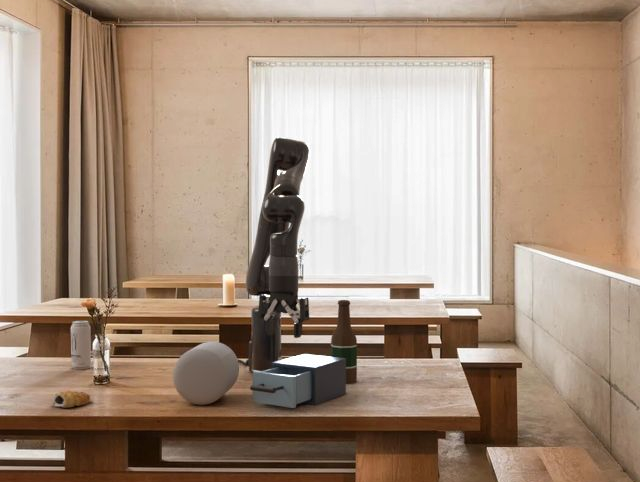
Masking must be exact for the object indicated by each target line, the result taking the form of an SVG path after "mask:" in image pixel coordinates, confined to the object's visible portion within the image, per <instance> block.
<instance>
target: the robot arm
mask: <svg viewBox="0 0 640 482" xmlns="http://www.w3.org/2000/svg"><path fill="white" fill-rule="evenodd" d="M310 153H311V149H310V145H309V144H308V143H307V142H304V141H301V140H297V139H293V138H286V137H282V136H277V137H275V138H274V140H273V141H272V144H271V148H270V153H269V159H268V168H267V176H266V183H265V190H264V195H263V199H262V203H261V207H260V211H259V217H258V221H257V229H256V236H255V241H254V246H253V250H252V252H251V257H250V260H249V264H248V266H247V271H246V276H245V289H246V291H247V293H248V294H249V295H250V296H254V297H257V296H258V305H255V306H254V307H252V309H251V313H250V314H251V315H250V316H251V340H249V342H248V357H247V359H246V360H245V361H244V360H242V359H238V358H237V359H238V363H239V364H242V365H245V366H248V372H249V373H253V372H254V371H258V372H261V371H265V370H269V369H272V362H275V361H279V360H283V357H282V313H283V314H288V316H289V317H291V319H292V321H293V322H294V323H293V338H294V339H298V338H301V337H302V335H303V323H304V322H308V321H309V320H310V303H309V296H304V297H299V296H298V292H299V260H298V259H299V258H298V239H299V233H300V227H301V224H302V220H303V218H304V213H305V208H306V206H305V202H304V199H303V197H301V196H300V193H301V186H302V182H303V180H304V177H305V174H306V171H307V168H308V165H309V161H310V156H311V155H310ZM280 171H281V172H280ZM268 259H269V262H268V265H266V263H267V261H268ZM297 305H298V306H299V308H298V306H297Z"/></svg>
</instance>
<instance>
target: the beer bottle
mask: <svg viewBox="0 0 640 482" xmlns="http://www.w3.org/2000/svg"><path fill="white" fill-rule="evenodd" d="M337 305H338V310H337V311H338V312H337V324H336V328H335V329H334V331H333V332H332V335H331V338H330V339H331V340H330V357H338V358H346V385H348V384H353V383H356V382H357V380H358V379H357V377H358V340H357V336H356V334H355V331H354V329H352V324H351V312H350V305H351V301H350V300H348V299H340V300H338V301H337Z"/></svg>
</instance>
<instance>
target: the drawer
mask: <svg viewBox="0 0 640 482" xmlns="http://www.w3.org/2000/svg"><path fill="white" fill-rule="evenodd" d="M249 389H250V391H252V403H256V404H263V405H269V406H277V407H282V408H288V409H289V408H291V409H294V408H297V405H298V404H302V403H301V402H304V401H307V400H310V399H313V371H312V370H304V369H295V368H287V367H276V368H272V369H269V370H265V371H261V372H258V371H254V372H252V384H251V385H250V386H249Z"/></svg>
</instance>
